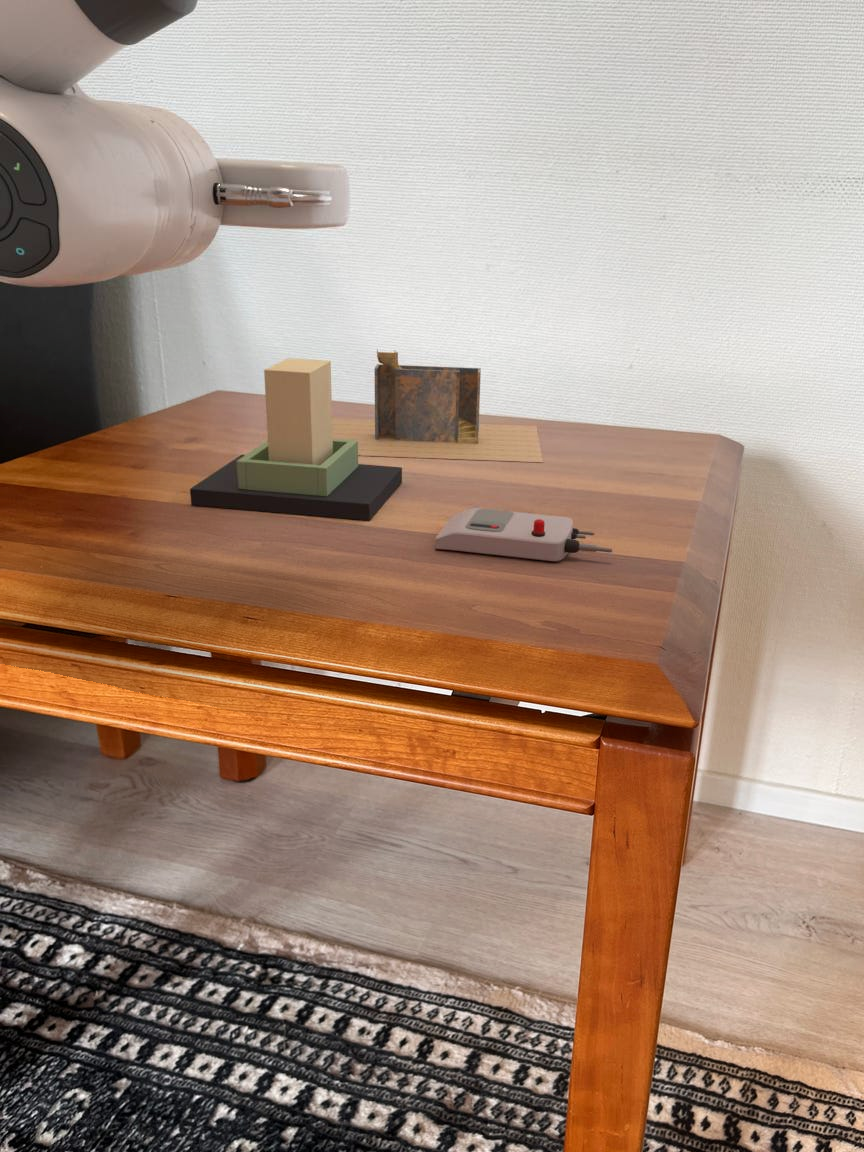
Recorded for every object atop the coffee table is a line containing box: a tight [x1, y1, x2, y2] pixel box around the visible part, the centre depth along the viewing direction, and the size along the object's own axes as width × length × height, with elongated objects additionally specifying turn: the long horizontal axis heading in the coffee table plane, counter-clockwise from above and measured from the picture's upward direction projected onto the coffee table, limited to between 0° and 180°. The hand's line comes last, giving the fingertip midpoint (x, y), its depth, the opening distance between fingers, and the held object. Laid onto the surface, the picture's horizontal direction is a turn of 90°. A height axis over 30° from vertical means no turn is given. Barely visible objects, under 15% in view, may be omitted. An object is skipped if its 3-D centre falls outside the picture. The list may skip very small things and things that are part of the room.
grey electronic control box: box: [414, 507, 613, 562], centre depth 82 cm, size 7×16×3 cm, turn 78°
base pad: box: [189, 439, 403, 521], centre depth 92 cm, size 16×12×4 cm
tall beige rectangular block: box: [263, 357, 333, 465], centre depth 90 cm, size 4×6×10 cm, turn 170°
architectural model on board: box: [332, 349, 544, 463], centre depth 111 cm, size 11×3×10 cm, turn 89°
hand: (232, 186), depth 71 cm, fingers open, 8 cm apart
